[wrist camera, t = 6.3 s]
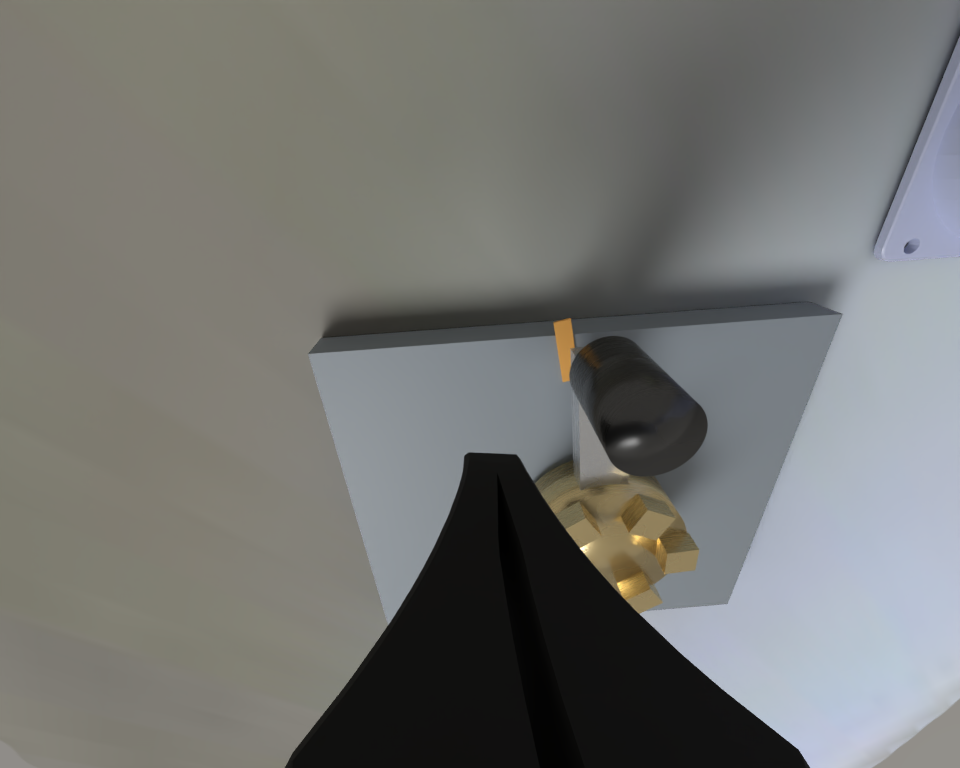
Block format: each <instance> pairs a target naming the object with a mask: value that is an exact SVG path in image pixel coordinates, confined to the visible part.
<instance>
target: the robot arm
mask: <svg viewBox="0 0 960 768" xmlns="http://www.w3.org/2000/svg"><path fill="white" fill-rule="evenodd" d="M907 242H908V245H907V246H906V248H904V247H905V245H906V244H907ZM874 256H875V257H876V258H877V259H879V260H884V261H890V262H891V261H905V260H919V259H932V258H946V257H960V37H959V39H958V42H957V44H956V46H955V49H954V51H953V54H952V56H951V59H950V61H949V64H948V66H947V69H946V71H945V74H944V76H943V79H942V81H941V84H940V86H939V89H938V91H937V94H936V96H935V99H934V101H933V103H932V106H931V108H930V111H929V113H928V116H927V118H926V121H925V123H924V126H923V128H922V131H921V133H920V136H919V138H918V141H917V143H916V146H915V148H914V151H913V153H912V156H911V158H910V160H909V163H908V165H907V168H906V170H905V173H904V175H903V178H902V180H901V183H900V185H899V188H898V190H897V193H896V195H895V198H894V200H893V203H892V205H891V208H890V210H889V213H888V215H887V217H886V220H885V222H884V225H883V227H882V230H881V232H880V235H879V237H878V240H877V242H876V245H875V248H874ZM285 768H810V767H809V765H808V764H807V762H806V761H805V759H804V757H803V756H802V754H801V753H800V751H799V750H798V749H797V748H796V747H794V746H793V745H792V744H791V743H789V742H788V741H787V740H785V739H784V738H783V737H782V736H780V735H779V734H778V733H777V732H775V731H774V730H773V729H772V728H770V727H769V726H768V725H766V724H765V723H764V722H763V721H761V720H760V719H759V718H758V717H756V716H755V715H754V714H753V713H751V712H750V711H749V710H747V709H746V708H745V707H744V706H742V705H741V704H740V703H739V702H737V701H736V700H735V699H734V698H732V697H731V696H730V695H728V694H727V693H726V692H725V691H724V690H722V689H721V688H720V687H719V686H718V685H716V684H715V683H714V682H713V681H712V680H711V679H709V678H708V677H707V676H706V675H705V674H704V673H703V672H701V671H700V670H699V669H698V668H697V667H696V666H694V665H693V664H692V663H691V662H690V661H689V660H687V659H686V658H685V657H684V656H683V655H682V654H681V653H680V652H678V651H677V650H676V649H675V648H674V647H673V646H672V645H671V644H670V643H669V642H668V641H667V640H666V639H665V638H664V637H663V636H662V635H661V634H660V633H659V632H657V631H656V630H655V629H654V628H653V627H652V626H651V625H650V624H649V623H648V622H647V621H646V620H645V619H644V618H643V617H642V616H641V615H640V614H639V613H638V612H637V611H636V610H635V609H634V608H633V607H632V606H631V605H630V604H629V603H628V602H627V601H626V600H625V599H624V598H623V597H622V596H621V595H620V594H619V593H618V592H617V591H616V590H615V588H614V587H613V586H612V585H611V584H610V583H609V582H608V581H607V579H606V578H605V577H604V576H603V575H602V574H601V573H600V572H599V570H598V569H597V568H596V567H595V566H594V565H593V563H592V562H591V561H590V560H589V559H588V557H587V556H586V555H585V554H584V553H583V551H582V550H581V549H580V547H579V546H578V545H577V544H576V542H575V541H574V540H573V538H572V537H571V536H570V535H569V533H568V532H567V531H566V529H565V528H564V526H563V525H562V524H561V522H560V521H559V520H558V518H557V517H556V515H555V514H554V512H553V511H552V509H551V508H550V507H549V505H548V504H547V502H546V501H545V499H544V498H543V496H542V495H541V493H540V491H539V490H538V488H537V487H536V485H535V483H534V482H533V480H532V478H531V477H530V475H529V473H528V472H527V470H526V468H525V466H524V465H523V463H522V461H521V459H520V458H519V457H518V455H517V454H498V453H474V452H469V453H467V454H466V455H464V464H463V472H462V477H461V480H460V484H459V487H458V491H457V493H456V496H455V499H454V501H453V504H452V507H451V510H450V512H449V515H448V517H447V520H446V522H445V524H444V526H443V528H442V530H441V533H440V535H439V537H438V539H437V541H436V544H435V546H434V548H433V550H432V552H431V554H430V555H429V557H428V559H427V561H426V563H425V565H424V567H423V569H422V570H421V572H420V574H419V576H418V578H417V579H416V581H415V583H414V585H413V586H412V588H411V590H410V591H409V593H408V595H407V596H406V598H405V599H404V601H403V603H402V604H401V606H400V608H399V609H398V611H397V612H396V614H395V616H394V617H393V619H392V620H391V622H390V623H389V625H388V626H387V628H386V629H385V631H384V632H383V634H382V635H381V637H380V638H379V639H378V641H377V642H376V644H375V645H374V647H373V648H372V649H371V651H370V652H369V654H368V655H367V656H366V658H365V659H364V661H363V662H362V664H361V665H360V666H359V668H358V669H357V671H356V672H355V673H354V675H353V676H352V678H351V679H350V680H349V682H348V683H347V684H346V686H345V687H344V688H343V690H342V691H341V692H340V694H339V695H338V696H337V697H336V699H335V700H334V701H333V702H332V704H331V705H330V706H329V708H328V709H327V710H326V711H325V713H324V714H323V715H322V716H321V718H320V719H319V720H318V721H317V723H316V724H315V725H314V727H313V728H312V729H311V730H310V732H309V733H308V734H307V735H306V737H305V738H304V739H303V740H302V742H301V743H300V744H299V746H298V747H297V748H296V749H295V751H294V752H293V754H292V755H291V757H290V759H289V761H288V763H287V765H286V767H285Z"/></svg>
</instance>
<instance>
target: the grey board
mask: <svg viewBox="0 0 960 768" xmlns="http://www.w3.org/2000/svg"><path fill="white" fill-rule="evenodd" d="M841 317H842V314H841V313H838V312H836V311H833V310H830V309H827V308H825V307H822V306H819V305H817V304H814V303H811V302H800V303H787V304H773V305H760V306H746V307H733V308H719V309H706V310H692V311H679V312H665V313H652V314H638V315H625V316H611V317H598V318H584V319H571V318H568V319H564V320H557V321H544V322H530V323H517V324H504V325H490V326H477V327H463V328H450V329H436V330H423V331H409V332H396V333H382V334H369V335H355V336H342V337H328V338H321V339H320V340H319V341H318V343H317V344H316V345H315V346H314V347H313V349H312V350H311V351H310V352H309V354H308V355H309V359H310V362H311V366H312V369H313V372H314V376H315V379H316V383H317V386H318V389H319V393H320V396H321V399H322V403H323V406H324V410H325V413H326V416H327V420H328V423H329V427H330V430H331V433H332V437H333V440H334V443H335V447H336V450H337V454H338V457H339V460H340V464H341V467H342V471H343V474H344V477H345V481H346V484H347V487H348V491H349V494H350V498H351V501H352V504H353V508H354V511H355V515H356V518H357V521H358V525H359V528H360V532H361V535H362V538H363V542H364V545H365V548H366V552H367V555H368V559H369V562H370V565H371V569H372V572H373V576H374V579H375V582H376V586H377V589H378V592H379V596H380V599H381V603H382V606H383V609H384V613H385V616H386V620H387V623H388V625H389V623H390V622H391V620H392V619H393V617H394V616H395V614H396V612H397V611H398V609H399V608H400V606H401V604H402V603H403V601H404V599H405V598H406V596H407V595H408V593H409V591H410V590H411V588H412V586H413V585H414V583H415V581H416V579H417V578H418V576H419V574H420V572H421V570H422V569H423V567H424V565H425V563H426V561H427V559H428V557H429V555H430V554H431V552H432V550H433V548H434V546H435V544H436V541H437V539H438V537H439V535H440V533H441V530H442V528H443V526H444V524H445V522H446V520H447V517H448V515H449V512H450V510H451V507H452V504H453V501H454V499H455V496H456V493H457V491H458V487H459V484H460V480H461V477H462V472H463V464H464V455H466V454H467V453H469V452H474V453H498V454H517V455H518V457H519V458H520V459H521V461H522V463H523V465H524V466H525V468H526V470H527V472H528V473H529V475H530V477H531V478H532V480H533V482H534V483H536V482H537V481H538V480H539V479H540V478H541V477H542V476H544V475H545V474H546V473H548V472H549V471H551V470H552V469H554V468H556V467H558V466H560V465H562V464H564V463H567V462H569V461H572V460H573V434H572V393H571V384H570V379H569V372H570V367H571V351H570V348H577V347H584V346H586V345H587V344H589V343H591V342H592V341H594V340H596V339H599V338H602V337H606V336H621V337H625V338H628V339H630V340H632V341H634V342H635V343H636V344H637V345H638V346H639V347H640V348H641V349H642V350H643V351H644V352H646V353H647V354H648V355H649V356H650V357H651V358H652V359H653V360H654V361H655V362H656V363H657V364H658V365H659V366H660V367H661V368H662V369H663V370H664V371H665V372H666V373H667V374H668V375H669V376H670V377H671V378H672V379H673V380H674V381H675V382H677V383H678V384H679V385H680V386H681V387H682V388H683V389H684V390H685V391H686V392H687V393H688V394H689V395H690V396H691V397H692V398H693V399H694V400H695V401H696V402H697V403H698V404H699V405H700V406H701V407H702V408H703V410H704V411H705V414H706V416H707V421H708V429H707V434H706V437H705V440H704V442H703V444H702V445H701V447H700V448H699V450H698V451H697V452H696V453H695V455H694V456H693V457H692V458H690V459H689V460H688V461H687V462H686V463H684V464H683V465H681V466H680V467H678V468H676V469H674V470H672V471H669V472H667V473H664V474H660V475H656V476H655V477H656V479H657V480H658V482H659V483H660V485H661V487H662V488H663V490H664V491H665V493H666V494H667V496H668V497H669V499H670V501H671V502H672V504H673V505H674V507H675V508H676V510H677V511H678V513H679V515H680V516H681V518H682V519H683V521H684V523H685V526H686V530H687V533H689V534H690V536H691V537H692V539H693V540H694V542H695V544H696V545H697V547H698V548H699V554H698V559H697V564H696V569H695V570H694V571H686V572H678V573H670V574H667V575H666V576H665V577H663V578H662V579H661V580H659V581H658V582H657V583H655V584H654V585H655V587H656V589H657V591H658V593H659V595H660V597H661V599H662V601H663V603H662V604H659V605H657V606H655V607H653V608H650V609H648V610H646V611H650V610H662V609H674V608H686V607H697V606H709V605H721V604H728V601H729V599H730V596H731V594H732V591H733V589H734V586H735V584H736V581H737V579H738V576H739V573H740V571H741V568H742V566H743V563H744V561H745V558H746V556H747V553H748V551H749V548H750V546H751V543H752V541H753V538H754V536H755V533H756V531H757V528H758V526H759V523H760V521H761V518H762V516H763V513H764V511H765V508H766V506H767V503H768V500H769V498H770V495H771V493H772V490H773V488H774V485H775V483H776V480H777V478H778V475H779V473H780V470H781V468H782V465H783V463H784V460H785V458H786V455H787V453H788V450H789V448H790V445H791V443H792V440H793V438H794V435H795V432H796V430H797V427H798V425H799V422H800V420H801V417H802V415H803V412H804V410H805V407H806V405H807V402H808V400H809V397H810V395H811V392H812V390H813V387H814V385H815V382H816V380H817V377H818V375H819V372H820V370H821V367H822V364H823V362H824V359H825V357H826V354H827V352H828V349H829V347H830V344H831V342H832V339H833V337H834V334H835V332H836V329H837V327H838V324H839V322H840V319H841Z"/></svg>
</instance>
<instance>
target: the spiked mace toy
mask: <svg viewBox="0 0 960 768" xmlns="http://www.w3.org/2000/svg"><path fill="white" fill-rule="evenodd" d="M570 351H571V367H570V372H569V379H570V384H571V393H572V434H573V460H572V461H569V462H567V463H564V464H562V465H560V466H558V467H556V468H554V469H552V470H551V471H549V472H548V473H546V474H545V475H544V476H542V477H541V478H540V479H539V480H538V481H537V482H536V483H535V485H536V487H537V488H538V490H539V491H540V493H541V495H542V496H543V498H544V499H545V501H546V502H547V504H548V505H549V507H550V508H551V509H552V511H553V512H554V514H555V515H556V517H557V518H558V520H559V521H560V522H561V524H562V525H563V526H564V528H565V529H566V531H567V532H568V533H569V535H570V536H571V537H572V538H573V540H574V541H575V542H576V544H577V545H578V546H579V547H580V549H581V550H582V551H583V553H584V554H585V555H586V556H587V557H588V559H589V560H590V561H591V562H592V563H593V565H594V566H595V567H596V568H597V569H598V570H599V572H600V573H601V574H602V575H603V576H604V577H605V578H606V579H607V581H608V582H609V583H610V584H611V585H612V586H613V587H614V588H615V590H616V591H617V592H618V593H619V594H620V595H621V596H622V597H623V598H624V599H625V600H626V601H627V602H628V603H629V604H630V605H631V606H632V607H633V608H634V609H635V610H636V611H637V612H638V613H642V612H644V611H646V610H648V609H650V608H653V607H655V606H657V605H659V604H662V603H663V601H662V599H661V597H660V595H659V593H658V591H657V589H656V587H655V585H654V584H655V583H657V582H658V581H659V580H661V579H662V578H663V577H665V576H666V575H667V574H670V573H678V572H686V571H694V570H695V569H696V564H697V559H698V554H699V548H698V547H697V545H696V544H695V542H694V540H693V539H692V537H691V536H690V534H689V533H687V530H686V526H685V523H684V521H683V519H682V518H681V516H680V515H679V513H678V511H677V510H676V508H675V507H674V505H673V504H672V502H671V501H670V499H669V497H668V496H667V494H666V493H665V491H664V490H663V488H662V487H661V485H660V483H659V482H658V480H657V479H656V477H655V476H656V475H660V474H664V473H667V472H669V471H672V470H674V469H676V468H678V467H680V466H681V465H683V464H684V463H686V462H687V461H688V460H689V459H690V458H692V457H693V456H694V455H695V453H696V452H697V451H698V450H699V448H700V447H701V445H702V444H703V442H704V440H705V437H706V434H707V429H708V421H707V416H706V414H705V411H704V410H703V408H702V407H701V406H700V405H699V404H698V403H697V402H696V401H695V400H694V399H693V398H692V397H691V396H690V395H689V394H688V393H687V392H686V391H685V390H684V389H683V388H682V387H681V386H680V385H679V384H678V383H677V382H675V381H674V380H673V379H672V378H671V377H670V376H669V375H668V374H667V373H666V372H665V371H664V370H663V369H662V368H661V367H660V366H659V365H658V364H657V363H656V362H655V361H654V360H653V359H652V358H651V357H650V356H649V355H648V354H647V353H646V352H644V351H643V350H642V349H641V348H640V347H639V346H638V345H637V344H636V343H635V342H634V341H632V340H630V339H628V338H625V337H621V336H606V337H602V338H599V339H596V340H594V341H592V342H591V343H589V344H587V345H586V346H584V347H577V348H570Z"/></svg>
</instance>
